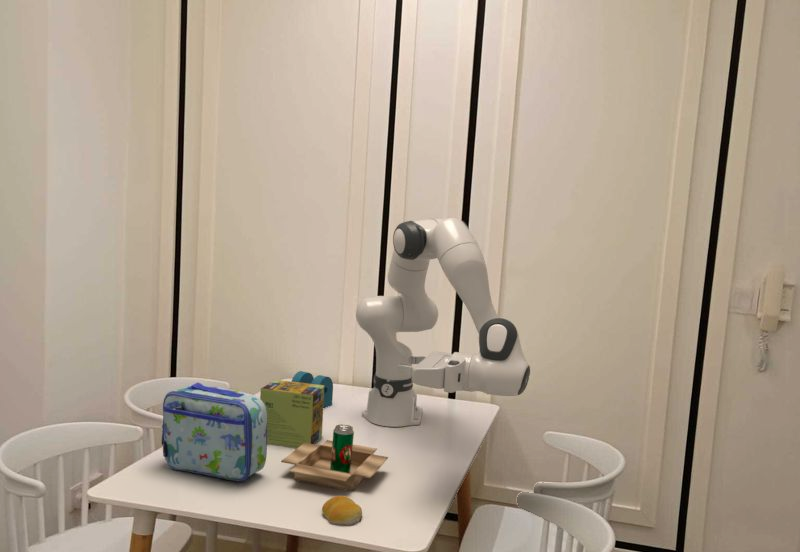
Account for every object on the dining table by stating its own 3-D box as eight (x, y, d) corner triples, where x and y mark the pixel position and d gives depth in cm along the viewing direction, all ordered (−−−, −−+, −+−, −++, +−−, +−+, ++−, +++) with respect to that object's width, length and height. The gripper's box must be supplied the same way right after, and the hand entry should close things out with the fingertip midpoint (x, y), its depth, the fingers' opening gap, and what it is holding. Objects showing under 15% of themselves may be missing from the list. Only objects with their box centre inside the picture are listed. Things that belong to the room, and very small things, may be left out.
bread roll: (335, 529, 151) (336, 511, 151) (317, 512, 159) (317, 495, 158) (369, 522, 156) (370, 504, 155) (350, 505, 163) (351, 488, 163)
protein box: (310, 450, 195) (313, 394, 193) (257, 443, 198) (259, 388, 196) (322, 438, 205) (325, 385, 203) (271, 431, 208) (273, 378, 206)
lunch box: (154, 467, 177) (156, 384, 174) (183, 454, 187) (185, 375, 184) (244, 490, 167) (247, 402, 165) (269, 474, 177) (272, 391, 175)
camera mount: (305, 399, 241) (307, 368, 240) (332, 405, 236) (333, 374, 235) (271, 412, 225) (273, 379, 224) (299, 419, 220) (300, 385, 219)
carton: (310, 451, 194) (311, 437, 193) (392, 465, 188) (393, 451, 187) (272, 483, 172) (272, 467, 171) (362, 500, 166) (363, 484, 165)
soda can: (330, 468, 182) (334, 422, 180) (350, 470, 182) (354, 424, 180) (329, 476, 177) (333, 430, 175) (349, 478, 177) (353, 431, 175)
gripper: (469, 349, 181) (415, 342, 184) (451, 367, 161) (392, 359, 165) (467, 374, 181) (414, 366, 185) (449, 395, 162) (390, 386, 166)
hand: (403, 363), depth 175 cm, fingers open, 8 cm apart
